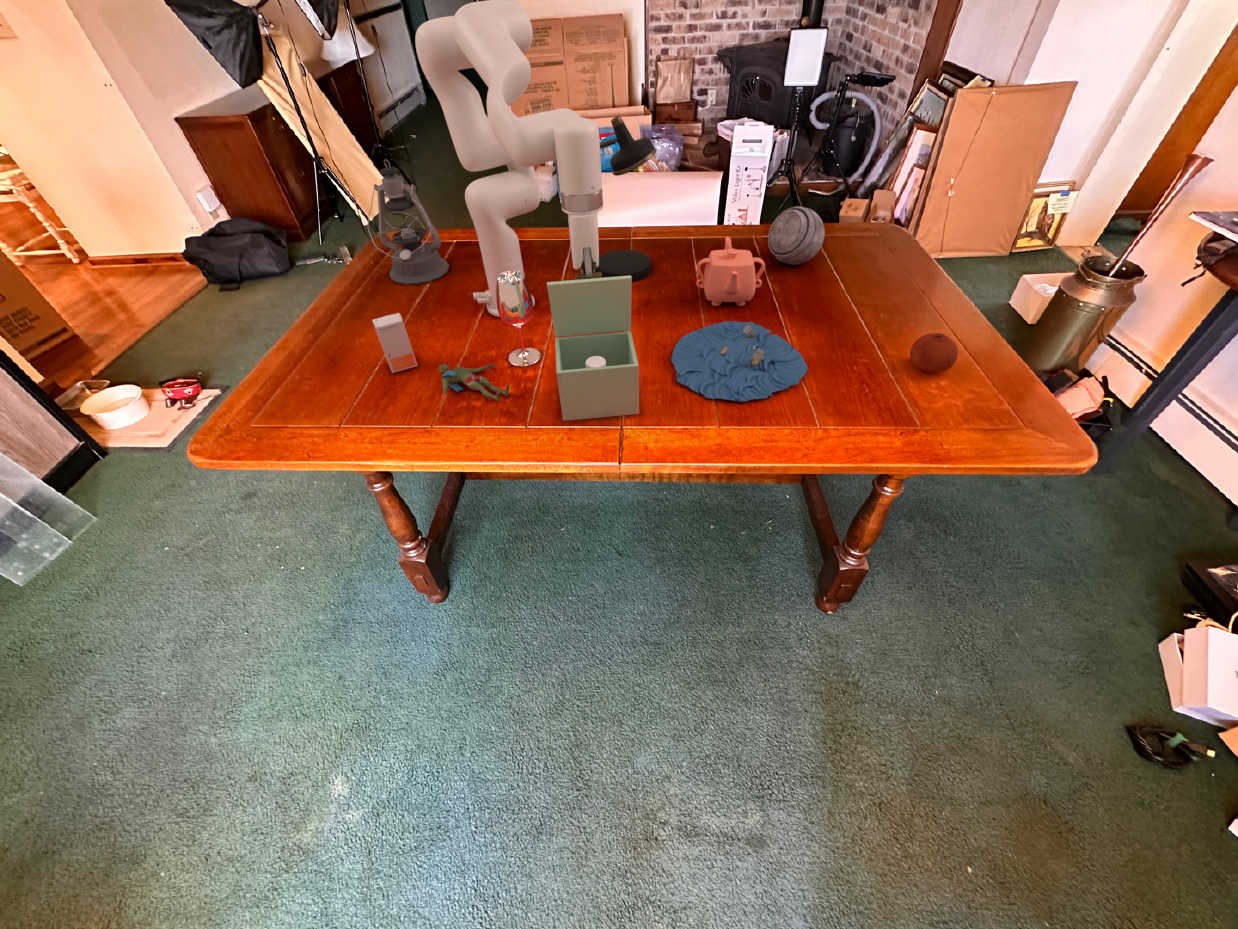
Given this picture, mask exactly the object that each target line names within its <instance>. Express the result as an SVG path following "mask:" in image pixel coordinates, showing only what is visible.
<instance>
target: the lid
mask: <svg viewBox="0 0 1238 929" xmlns="http://www.w3.org/2000/svg"><path fill="white" fill-rule="evenodd" d="M574 276H575V277H574V278H575V279H570V280H557V281H547V282H546V288H547V294H548V300H549V306H550V313H551V320H552V328H553V333H554V337H555V338H556V337H568V336H579V335H591V334H602V333H614V332H625V331H631V330H632V287H633V286H632V284H633V282H632V277H631V275H630V276H618V277H606V278H602V274H601V272H595V273H592V277H586V273H583V274H581V273H575V274H574Z"/></svg>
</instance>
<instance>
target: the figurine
mask: <svg viewBox="0 0 1238 929" xmlns="http://www.w3.org/2000/svg"><path fill="white" fill-rule="evenodd" d="M496 367H497V365H494V363H490V364H488V365H485V366H481V367H477V368H471V367H467V368H466V367H464V366H457V367H455V368H453V369H450V365H448V364H446V363H442V364H440V365H439V367H438V369H439V372H438V374H440V373H441V374H442V375H441V383H442V391H443V394H444V395H447V391H448V388H449V387H450V388H451V389H452V390H453V391H455V392H456V393H458V392H461V391H464V390H465V388H464V387H462V386H461V385H460V384H458V383H461V382H462V383H463V385H464V386H466V387H467V388H468V389H470V390H473V391H479V392H480V393H481V394H482V395H483V397H485V398H490V399H493V400H495V401H497V402H501V395H500V394H502V395H504V396H505V397H509V392H510V384H506V385H505V388H504V390H503V389H500V388H499V387H497V386H496V385H493V384H492V382H490V381H489V380H488V379H487V378H486V377H485V376H481V375H476V374H479V373H481V372H483V371H485V370H487V369H492V368H493V369H494V368H496ZM485 387H487V388H489V390H490V391H491V392H493V393H495V395H494V394H492V393H491V392H489V391H488V390H486V389H485Z"/></svg>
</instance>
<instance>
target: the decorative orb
mask: <svg viewBox="0 0 1238 929" xmlns="http://www.w3.org/2000/svg"><path fill="white" fill-rule="evenodd" d="M823 222H824V221H823V220H822V218H821V217H820V215H819V214H818V213H817V212H816V211H814V210H813V209H811V208H808V207H805V206H799V205H798V206H793V207H789V208H787V209H785V210H783V211H782V212H781V213H780V214H779V215H778V216H777V217H776V218H775V219H774V221H773V222H772V224H771V225H770V228H769V231H768V235H767V245H768V248H769V251H770V253H771V254H772V255H773V256H774V257H775V258H776V259H777V260H778V261H779V262H781V263H783V264H785V265H790V266H791V265H794V266H796V265H802V264H804V263H806V262H808V261H810V260H811V259H813V258H814V257H815V256H816V255H817V253H819V251H820V250H821V248H822V245H823V243H824V240H825V231H826V230H825V225H824V223H823Z"/></svg>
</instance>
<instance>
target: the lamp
mask: <svg viewBox="0 0 1238 929" xmlns="http://www.w3.org/2000/svg"><path fill="white" fill-rule="evenodd" d="M610 123H611V125H612V129H613V132H614V134H615V138H614V137H613V138H610V139H607V140H605V141H602V142H601V141H600V149H604V148H607V147H610V146H613V145H616V144H618V148H619V150H617V151H616V152H615V153H614V154H613V155H612V156H611V157H610V161H609V163H610V166H611V171H612V175H613V176H615V177H619V176H623V175H625V174H628V173H630V172H633V171H635V170H637V169H638V168H640V167H641V166H643V165H644V164H646V163H647V162H648V161H650V160H651V159H652V158H654V157H655V154H656V153H657V148H656V147H655V145H654V144H653V142H652V140H651V139H650V138H649V137H642V138H638V139H636V140H635V139H634V137H633V136H632V134H631V133H630V130H629V129H628V127H627V125H626V123H625V121H624V119H623V118H622V116H621V115H620V114H619V115H616V116H615V117H613V118H612V119H611V120H610ZM651 271H652V261H651V257H650V256H649V255H647V253H644V252H642V251H640V250H635V249H615V250H614V249H613V250H610V251H606V252H605V253H602V254H599V266H598V267H597V268H596V266H595V272H601V274H602V278H606V277H618V276H630V275H631V277H632V283H633V282H637V281H639V280H643V279H645V278H646V277H647V276H648V275H650V274H651Z"/></svg>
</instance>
